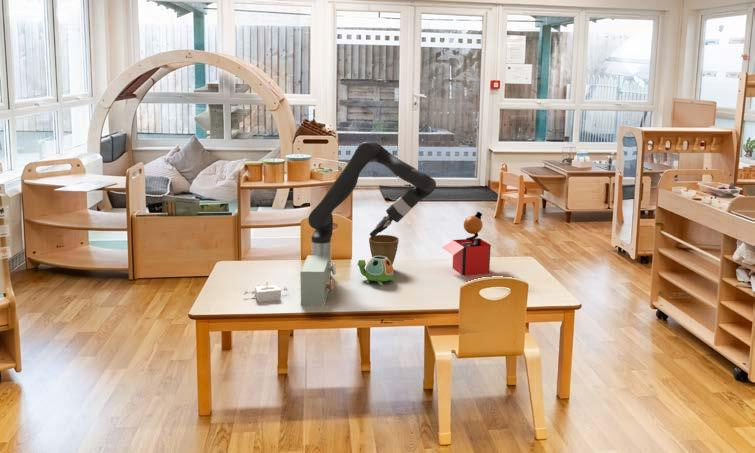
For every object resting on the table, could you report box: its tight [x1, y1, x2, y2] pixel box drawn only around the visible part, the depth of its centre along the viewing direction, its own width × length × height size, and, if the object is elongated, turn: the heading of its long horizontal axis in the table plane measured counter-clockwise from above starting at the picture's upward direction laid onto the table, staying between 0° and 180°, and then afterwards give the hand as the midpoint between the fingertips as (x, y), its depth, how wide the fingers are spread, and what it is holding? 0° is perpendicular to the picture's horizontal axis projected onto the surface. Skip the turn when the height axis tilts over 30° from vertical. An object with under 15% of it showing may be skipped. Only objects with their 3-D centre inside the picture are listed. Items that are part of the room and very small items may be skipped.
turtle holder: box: [356, 256, 394, 286], centre depth 363 cm, size 12×18×12 cm
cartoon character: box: [243, 281, 289, 303], centre depth 341 cm, size 8×20×16 cm
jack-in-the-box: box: [442, 211, 493, 277], centre depth 379 cm, size 26×16×30 cm, turn 106°
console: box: [300, 254, 331, 306], centre depth 340 cm, size 10×26×15 cm, turn 178°
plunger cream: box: [328, 261, 337, 276], centre depth 345 cm, size 13×6×6 cm, turn 88°
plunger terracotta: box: [325, 279, 335, 294], centre depth 334 cm, size 13×6×6 cm, turn 88°
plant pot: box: [368, 234, 400, 266], centre depth 381 cm, size 15×15×16 cm
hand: (371, 236), depth 340 cm, fingers closed
